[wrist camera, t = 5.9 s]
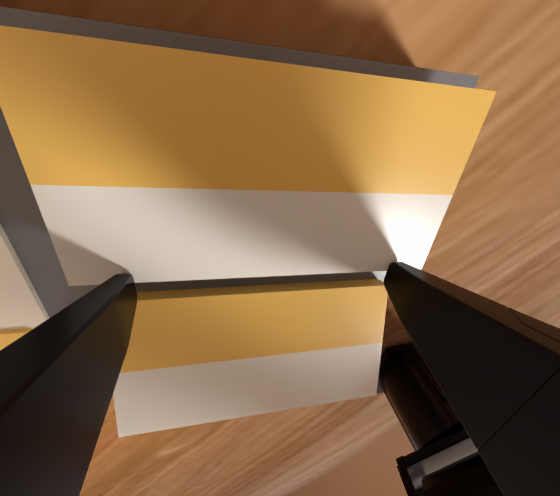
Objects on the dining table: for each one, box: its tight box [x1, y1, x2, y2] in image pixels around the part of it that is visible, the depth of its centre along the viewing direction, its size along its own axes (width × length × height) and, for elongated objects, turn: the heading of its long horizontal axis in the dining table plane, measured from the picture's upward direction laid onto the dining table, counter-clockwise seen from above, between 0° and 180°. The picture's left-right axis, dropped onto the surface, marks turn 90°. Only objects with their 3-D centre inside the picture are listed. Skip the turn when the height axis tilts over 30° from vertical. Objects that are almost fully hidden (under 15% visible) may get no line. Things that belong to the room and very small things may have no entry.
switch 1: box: [0, 25, 497, 286], centre depth 8 cm, size 6×12×1 cm, turn 84°
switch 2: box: [113, 279, 388, 437], centre depth 12 cm, size 6×12×1 cm, turn 82°
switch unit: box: [0, 6, 479, 350], centre depth 12 cm, size 15×20×4 cm
